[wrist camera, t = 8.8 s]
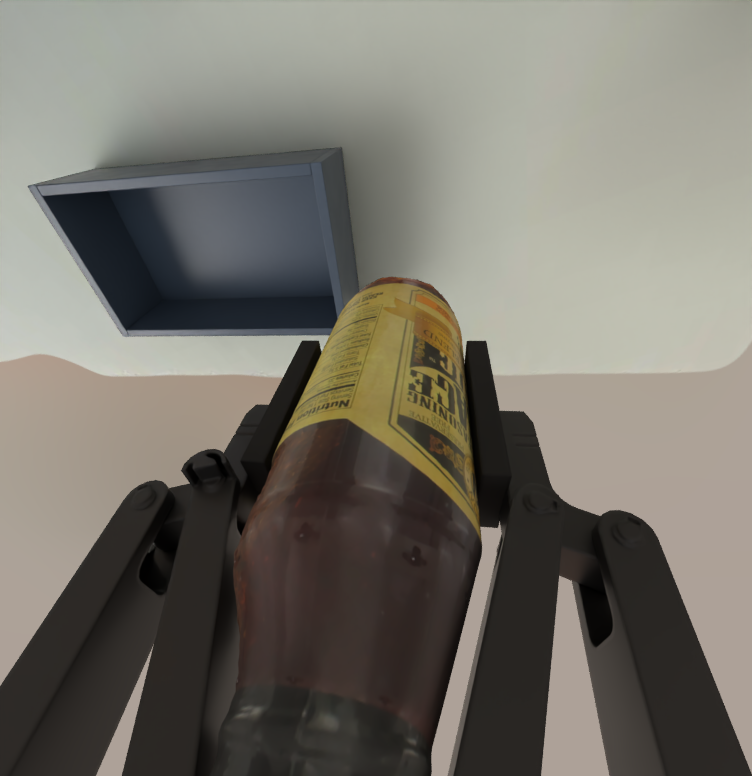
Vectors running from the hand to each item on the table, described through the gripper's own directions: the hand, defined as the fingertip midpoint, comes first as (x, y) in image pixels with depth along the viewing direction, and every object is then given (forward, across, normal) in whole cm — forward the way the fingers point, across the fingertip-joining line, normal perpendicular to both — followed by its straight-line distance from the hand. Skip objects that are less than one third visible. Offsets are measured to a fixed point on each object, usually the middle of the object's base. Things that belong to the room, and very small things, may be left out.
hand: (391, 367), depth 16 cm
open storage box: (+19, -16, 0) cm, 25 cm away
